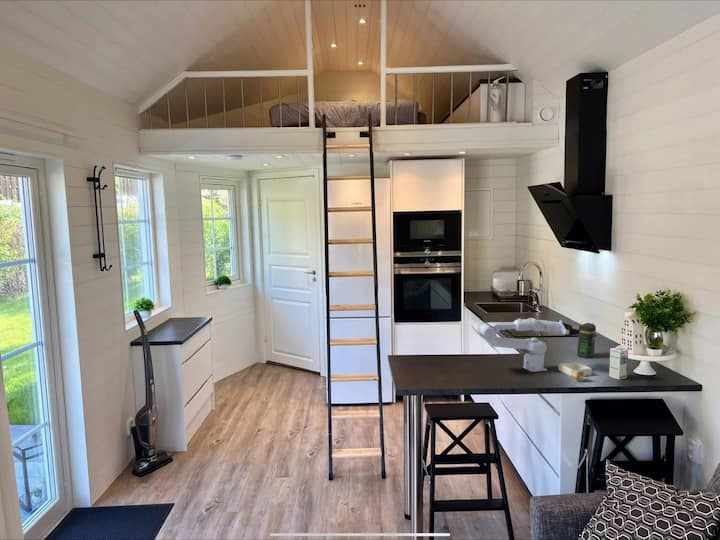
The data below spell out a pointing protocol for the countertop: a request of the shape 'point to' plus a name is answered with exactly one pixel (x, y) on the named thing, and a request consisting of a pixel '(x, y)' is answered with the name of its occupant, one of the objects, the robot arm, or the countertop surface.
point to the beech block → (577, 375)
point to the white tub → (574, 365)
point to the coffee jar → (586, 340)
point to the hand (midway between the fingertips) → (575, 330)
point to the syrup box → (618, 363)
